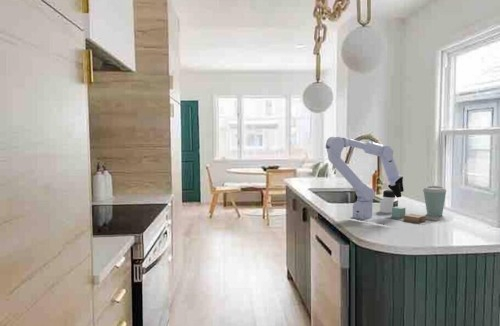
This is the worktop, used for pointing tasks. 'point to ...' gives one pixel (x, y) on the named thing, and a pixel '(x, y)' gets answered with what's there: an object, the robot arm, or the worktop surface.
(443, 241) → the worktop surface
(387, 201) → the medicine bottle
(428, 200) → the disposable coffee cup
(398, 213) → the green cube
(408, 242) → the worktop surface
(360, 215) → the robot arm
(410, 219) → the stacking base
